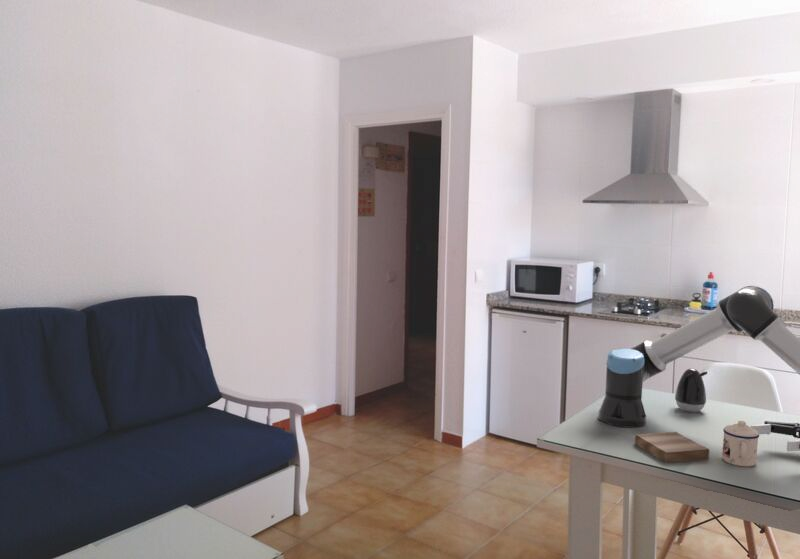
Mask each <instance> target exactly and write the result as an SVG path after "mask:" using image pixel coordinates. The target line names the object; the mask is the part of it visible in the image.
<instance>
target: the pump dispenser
mask: <svg viewBox="0 0 800 559" xmlns="http://www.w3.org/2000/svg"><path fill="white" fill-rule="evenodd" d="M707 374H708V371H706V370H705V371H702V372H699V371H698V369H695V368H687V369H685V371H684V372H683V373H682V375H681V377H680V379H679V381H678V383H677V386H676V391H675V394H674V400H675V403H676V405H677V407H678V409H680V410H682V411H683V412H686V413H698V412H701V411H702V410H703V409H704V407H705V406H706V405H705V404H706V403H707V393H706V392H707V391H706V387H705V383H704V380H703V377H704V376H706V375H707Z"/></svg>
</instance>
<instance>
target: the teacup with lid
mask: <svg viewBox="0 0 800 559" xmlns="http://www.w3.org/2000/svg"><path fill="white" fill-rule="evenodd" d="M722 431H723V443H722V453H721V454H722V455H721V458H722V460H723V461H724V462H726V463H728V464H730V465H733V466H739V467H749V468H750V467H753V466H755V465H756V464H757V456H758V444H759V443H758V441H759V437H760V434H759V433H758V431H756V430H755V429H752V428H751V426H749V425H747V422H745V421H744V420H738V421H737V423H734V424H728V425H726V426H724V428H723V430H722Z"/></svg>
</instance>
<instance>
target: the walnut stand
mask: <svg viewBox="0 0 800 559" xmlns="http://www.w3.org/2000/svg"><path fill="white" fill-rule="evenodd" d="M634 444H635V445H636V446H637V447H639V448H641V449H642V450H644V451H645V452H647V453H649V454H651V455H652V456H654V457H655V456H656V457H655V458H656V459H659V460H661V462H664V463H665V464H667V463H668V464H669V463H677V462H678V463H680V462H692V461H705V460H706V461H707V460H709V459H710V458H709V457H710V448H708V447H706V446H705V445H702V444H700V443H698V442H696V441H694V440H693V439H691V438H688V437H687V436H685V435H683V434H681V433H679V432H677V431H669V432H654V433H639V434H638V433H637V434H635V440H634Z"/></svg>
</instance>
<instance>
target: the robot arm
mask: <svg viewBox="0 0 800 559" xmlns="http://www.w3.org/2000/svg"><path fill="white" fill-rule="evenodd" d="M774 305H775V304H774V300H773V297H772V296H771V294H770V293H769V292H768V291H767V290H766V289H764V288H762V287H760V286H757V285H746V286H743V287H741V288H740V289H738V290H737V291H735V292H734V293H731V294H730V295H728V296H726V297H725V298H723V299H720V300H719V301H718V302H717V304H716V307H715V308H713V309H712V310H710V311H709V312H706V313H705V314H702V315H701V316H699V317H698V318H695V319H694V320H692V321H689V322H688V323H686V324H684V325H683V326H680V327H678V328H677V329H674V330H673V331H671V332H669V333H666V334H665V335H663V336H661V337H660V338H658V339H656V340H654V341H650V340H645V341H643V342H641V343H639V344H637V345H636V346H633V347H631V348H619V349H613V350H611V351H609V353H608V354H607V359H606V374H605V375H606V376H605V377H606V378H605V393H604V399H603V400H602V404H601V405H600V408H599V411H598V419H599V420H600V421H601V422H603V423H604V424H605V423H606V424H608V425H612V426H616V427H623V428H624V427H625V428H637V427H642V426H645V425H646V423H647V422H646V421H647V416H646V412H645V407H644V404H643V400H642V398H643V384H644V382H645V381H646V380H648V379H650V378H652V377H655V376H656V375H658V374H660V373H662V372H664V371H666V369H667V365H669V363H672V362H673V361H675V360H677V359H679V358H682V357H683V356H686V355H688V354H689V353H691V352H693V351H696V350H697V349H699V348H701V347H703V346H705V345H707V344H709V343H711V342H713V341H714V340H717V339H718V338H720V337H722V336H724V335H727V334H728V333H730V332H735V333H741V332H743V331H744V332H745V333H746V334H747V335H748V336H749V337H751V339H753V340H754V341H758V340H759V341H761V342H762V343H763V344H764V345H765V346H766V347H767V348H768V349H770V351H772V352H773V353H774V354H775V355H776V356H777V357H779V358H780V359H781V360H782V361H784V363H785V364H787V366H789V367H790V368H791V369H792V370H794V372H796V373H797V374H798V375H799V376H800V338H799V337H798V336H797V335H796V334H794V333H793V332H792V331H791V330H790V329H788V328H787V327H786V326H785V325H784V324H783V323H781V320H780V316H779V315H778V314H777V313H775V311H774ZM750 428H752V429H755V430H756V431H758V433H759V435H770V434H771V433H772V434H779V435H785V436H793V438H795V439H796V440H787V441H786V442H787V444H786V451H787V452H798V451H799V452H800V423H798V422H783V421H782V422H779V421H769V420H764V424H750ZM797 434H798V435H797ZM797 439H799V440H797Z"/></svg>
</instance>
